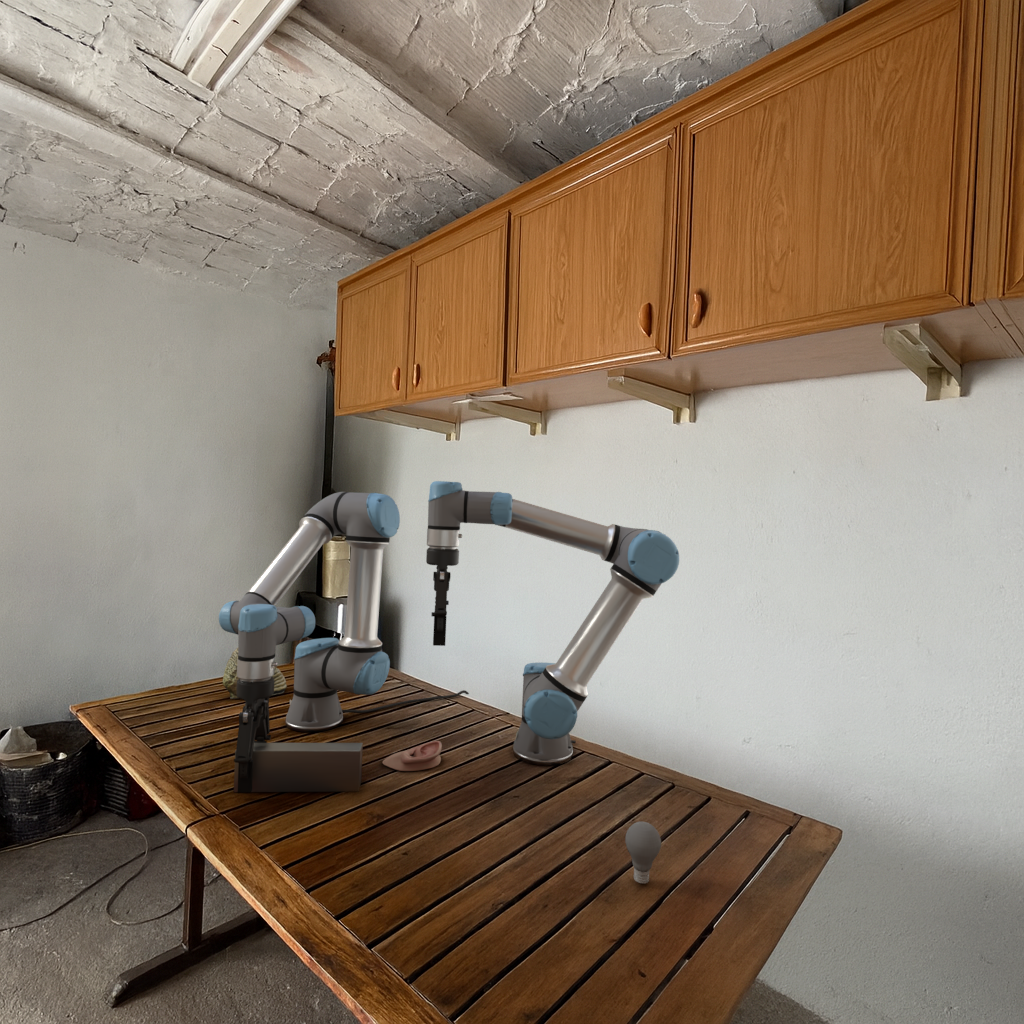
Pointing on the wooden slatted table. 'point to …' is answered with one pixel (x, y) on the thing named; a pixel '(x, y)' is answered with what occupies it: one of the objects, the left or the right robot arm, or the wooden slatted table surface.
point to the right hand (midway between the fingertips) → (439, 638)
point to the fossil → (231, 678)
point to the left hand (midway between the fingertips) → (252, 780)
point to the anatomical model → (416, 757)
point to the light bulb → (642, 848)
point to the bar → (305, 767)
